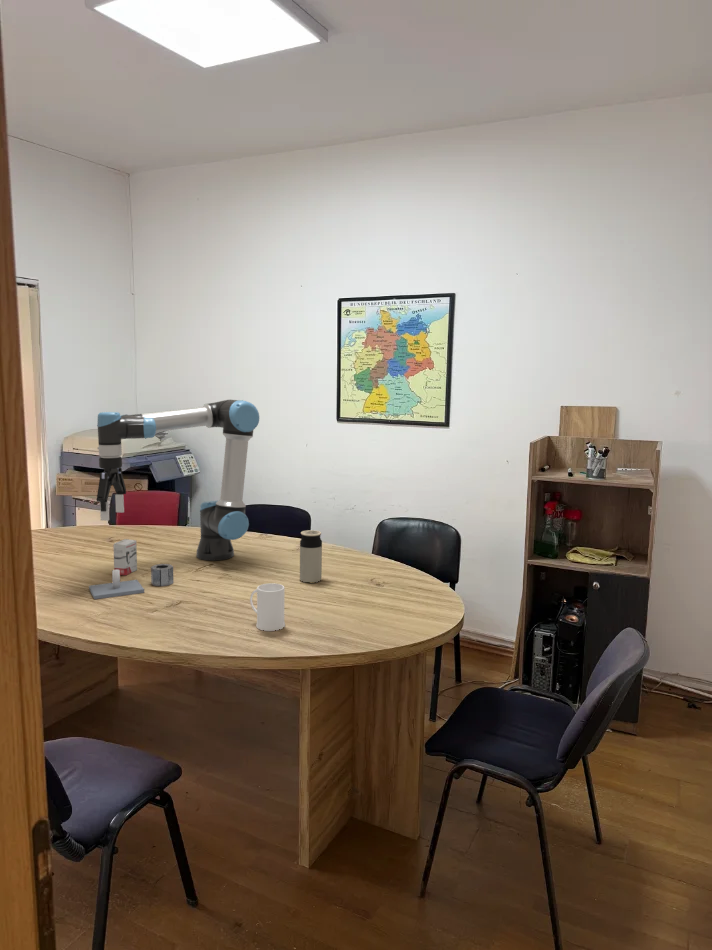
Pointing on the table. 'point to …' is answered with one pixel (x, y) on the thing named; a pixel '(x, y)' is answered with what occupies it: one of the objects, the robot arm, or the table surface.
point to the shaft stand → (116, 587)
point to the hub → (162, 575)
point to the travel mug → (310, 556)
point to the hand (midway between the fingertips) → (112, 516)
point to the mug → (269, 606)
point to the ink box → (125, 556)
